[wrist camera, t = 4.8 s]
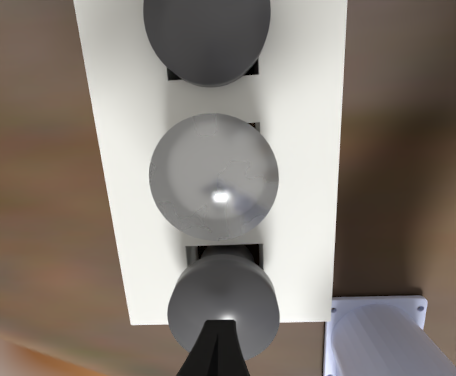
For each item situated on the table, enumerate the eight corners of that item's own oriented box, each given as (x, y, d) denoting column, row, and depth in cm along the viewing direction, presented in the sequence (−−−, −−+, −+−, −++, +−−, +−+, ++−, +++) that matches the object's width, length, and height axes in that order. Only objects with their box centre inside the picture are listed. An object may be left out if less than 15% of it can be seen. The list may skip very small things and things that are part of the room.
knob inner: (268, 298, 19) (280, 362, 14) (190, 300, 20) (173, 363, 14) (267, 224, 18) (279, 266, 13) (182, 228, 18) (160, 269, 13)
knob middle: (267, 204, 17) (279, 238, 12) (180, 208, 18) (157, 242, 13) (265, 113, 16) (278, 108, 11) (171, 119, 16) (140, 117, 11)
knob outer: (261, 92, 18) (271, 79, 12) (176, 97, 18) (151, 87, 13) (259, -8, 16) (269, -69, 11) (166, 0, 16) (134, -56, 11)
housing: (313, 285, 21) (330, 321, 17) (149, 289, 22) (131, 324, 18) (323, -22, 16) (350, -68, 12) (106, -3, 17) (66, -42, 13)
